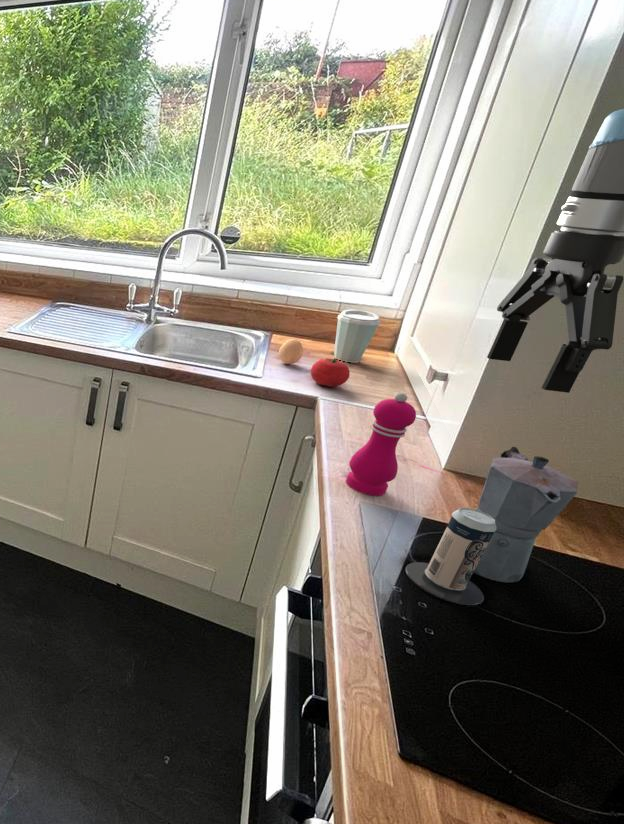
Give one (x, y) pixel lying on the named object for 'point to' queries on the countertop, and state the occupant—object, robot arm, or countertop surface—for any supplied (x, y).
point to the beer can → (460, 548)
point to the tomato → (330, 372)
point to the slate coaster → (462, 597)
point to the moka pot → (519, 511)
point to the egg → (291, 351)
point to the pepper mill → (381, 447)
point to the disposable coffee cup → (354, 334)
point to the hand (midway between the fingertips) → (524, 374)
